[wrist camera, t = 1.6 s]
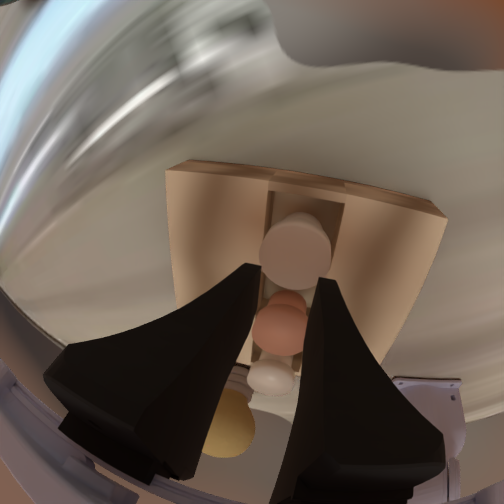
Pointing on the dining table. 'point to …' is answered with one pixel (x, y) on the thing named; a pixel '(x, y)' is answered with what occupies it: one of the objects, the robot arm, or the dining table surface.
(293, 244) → the plug near
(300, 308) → the plug mid
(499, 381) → the dining table surface
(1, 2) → the vase
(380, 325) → the socket board
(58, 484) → the robot arm
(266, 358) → the plug far
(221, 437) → the light bulb
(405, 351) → the dining table surface
